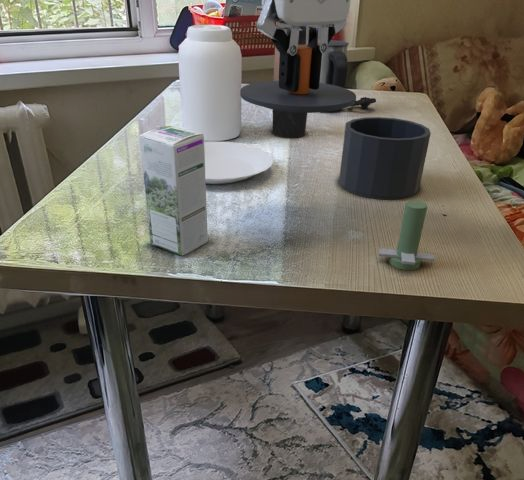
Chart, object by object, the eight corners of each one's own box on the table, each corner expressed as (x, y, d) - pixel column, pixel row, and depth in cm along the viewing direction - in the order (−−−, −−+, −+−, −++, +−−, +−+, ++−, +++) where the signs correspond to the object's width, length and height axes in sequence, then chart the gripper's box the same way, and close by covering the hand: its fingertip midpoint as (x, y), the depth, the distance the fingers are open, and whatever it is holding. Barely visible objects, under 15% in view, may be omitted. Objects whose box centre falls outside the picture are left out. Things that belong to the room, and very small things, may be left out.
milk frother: (298, 106, 140) (302, 39, 131) (345, 100, 147) (352, 37, 138) (333, 119, 130) (340, 48, 122) (382, 111, 138) (392, 45, 129)
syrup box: (209, 242, 74) (206, 131, 66) (181, 257, 71) (173, 142, 62) (178, 231, 77) (170, 123, 68) (148, 245, 73) (137, 133, 64)
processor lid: (356, 94, 75) (362, 42, 71) (353, 121, 63) (361, 61, 59) (251, 86, 76) (252, 35, 72) (229, 111, 64) (229, 52, 61)
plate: (198, 146, 109) (198, 135, 108) (292, 166, 101) (293, 153, 100) (131, 176, 94) (129, 163, 93) (235, 201, 87) (235, 187, 85)
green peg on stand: (429, 253, 74) (442, 196, 69) (434, 278, 68) (449, 218, 63) (377, 248, 74) (386, 191, 70) (377, 272, 69) (388, 212, 64)
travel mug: (295, 140, 115) (302, 31, 103) (264, 134, 118) (268, 27, 106) (312, 132, 120) (321, 27, 108) (282, 126, 123) (287, 24, 111)
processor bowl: (415, 175, 99) (426, 120, 94) (421, 202, 89) (433, 142, 83) (340, 169, 101) (347, 114, 95) (337, 195, 90) (344, 135, 84)
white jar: (252, 136, 116) (255, 28, 104) (204, 146, 110) (200, 31, 98) (218, 123, 124) (216, 21, 112) (171, 131, 117) (164, 23, 105)
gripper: (271, -109, 51) (264, 101, 62) (391, -97, 59) (366, 88, 70) (228, -107, 56) (228, 88, 67) (344, -95, 64) (327, 78, 75)
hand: (298, 87), depth 68 cm, fingers closed on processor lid, 2 cm apart
